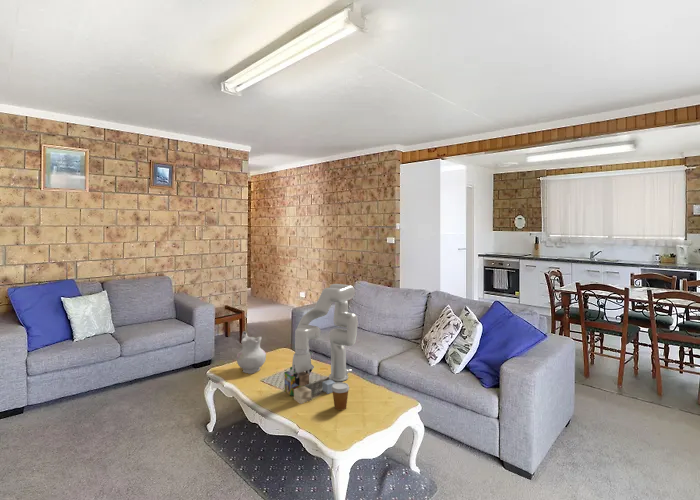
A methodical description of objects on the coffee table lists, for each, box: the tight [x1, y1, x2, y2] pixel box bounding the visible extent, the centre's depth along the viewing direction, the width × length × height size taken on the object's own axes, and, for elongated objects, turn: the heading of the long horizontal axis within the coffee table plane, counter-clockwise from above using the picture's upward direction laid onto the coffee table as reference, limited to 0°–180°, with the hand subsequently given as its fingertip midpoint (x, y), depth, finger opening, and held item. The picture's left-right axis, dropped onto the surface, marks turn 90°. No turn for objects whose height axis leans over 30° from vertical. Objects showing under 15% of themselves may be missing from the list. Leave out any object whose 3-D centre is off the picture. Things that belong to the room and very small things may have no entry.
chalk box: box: [284, 366, 306, 397], centre depth 224 cm, size 9×9×15 cm
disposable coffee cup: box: [331, 381, 350, 411], centre depth 204 cm, size 10×10×12 cm
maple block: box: [293, 385, 312, 405], centre depth 213 cm, size 7×7×6 cm
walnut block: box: [298, 371, 310, 386], centre depth 212 cm, size 6×6×6 cm
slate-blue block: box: [321, 379, 336, 395], centre depth 224 cm, size 6×6×6 cm
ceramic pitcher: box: [236, 331, 267, 375], centre depth 257 cm, size 22×20×25 cm
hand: (302, 382), depth 213 cm, fingers closed on walnut block, 5 cm apart
